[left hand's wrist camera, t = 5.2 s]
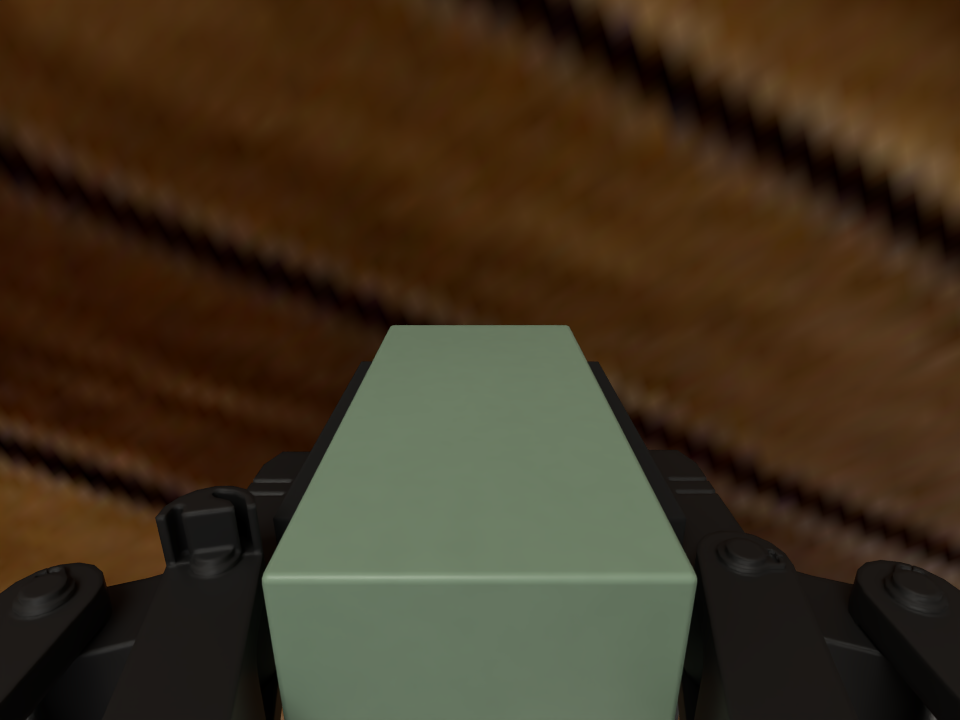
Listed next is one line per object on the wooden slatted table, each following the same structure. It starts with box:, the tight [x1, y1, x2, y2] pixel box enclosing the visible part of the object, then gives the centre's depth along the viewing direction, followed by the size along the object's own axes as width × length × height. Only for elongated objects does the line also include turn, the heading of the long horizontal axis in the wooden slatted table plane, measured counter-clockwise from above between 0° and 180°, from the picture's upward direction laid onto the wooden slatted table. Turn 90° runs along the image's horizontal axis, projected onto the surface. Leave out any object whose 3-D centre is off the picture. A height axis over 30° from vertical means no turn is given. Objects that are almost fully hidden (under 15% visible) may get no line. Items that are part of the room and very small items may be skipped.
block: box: [262, 325, 697, 720], centre depth 11 cm, size 4×4×9 cm
